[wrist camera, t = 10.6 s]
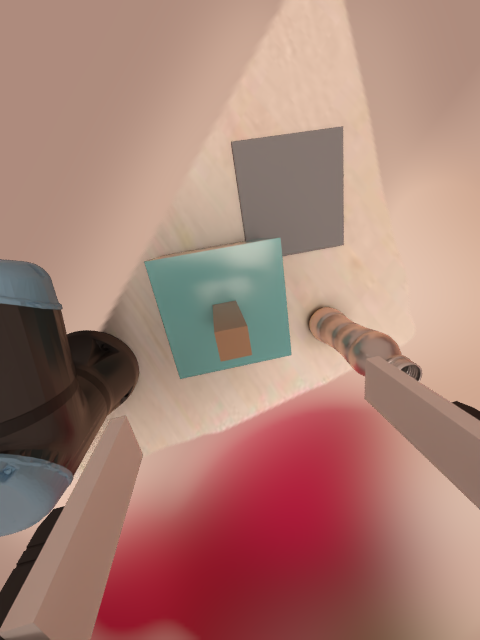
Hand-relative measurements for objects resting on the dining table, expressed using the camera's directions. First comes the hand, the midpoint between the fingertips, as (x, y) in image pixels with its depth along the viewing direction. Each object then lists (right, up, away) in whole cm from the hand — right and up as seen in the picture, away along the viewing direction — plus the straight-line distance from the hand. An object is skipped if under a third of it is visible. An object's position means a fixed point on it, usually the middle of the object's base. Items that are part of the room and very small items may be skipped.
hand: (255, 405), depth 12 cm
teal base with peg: (-4, +9, +27) cm, 29 cm away
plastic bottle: (+15, +5, +32) cm, 36 cm away
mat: (+8, +24, +24) cm, 35 cm away
